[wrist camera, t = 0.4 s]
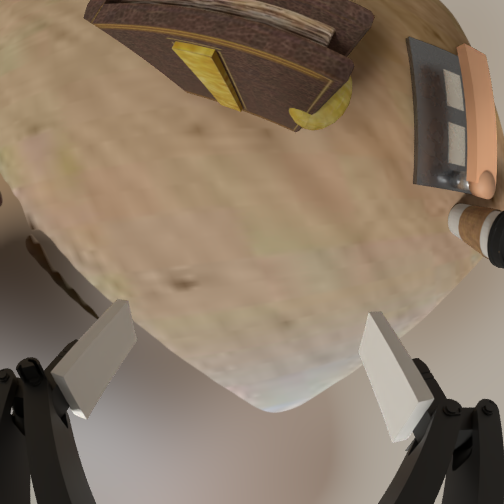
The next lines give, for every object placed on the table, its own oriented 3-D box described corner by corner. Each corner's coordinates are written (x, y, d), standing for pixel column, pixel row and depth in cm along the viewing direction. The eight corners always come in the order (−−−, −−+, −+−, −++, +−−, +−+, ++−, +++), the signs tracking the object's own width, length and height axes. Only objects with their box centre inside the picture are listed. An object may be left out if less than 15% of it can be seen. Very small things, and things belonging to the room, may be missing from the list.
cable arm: (456, 47, 22) (466, 42, 19) (477, 58, 22) (487, 54, 19) (465, 193, 30) (476, 196, 27) (485, 198, 29) (496, 201, 27)
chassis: (405, 38, 28) (423, 25, 22) (465, 62, 28) (485, 55, 21) (413, 183, 36) (434, 188, 30) (471, 193, 36) (493, 200, 30)
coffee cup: (447, 249, 39) (499, 283, 25) (438, 206, 37) (496, 228, 23) (476, 231, 38) (529, 257, 24) (468, 189, 36) (526, 205, 21)
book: (173, 95, 35) (68, 36, 11) (196, 49, 32) (124, -45, 8) (311, 147, 36) (381, 125, 12) (333, 98, 34) (416, 26, 10)
